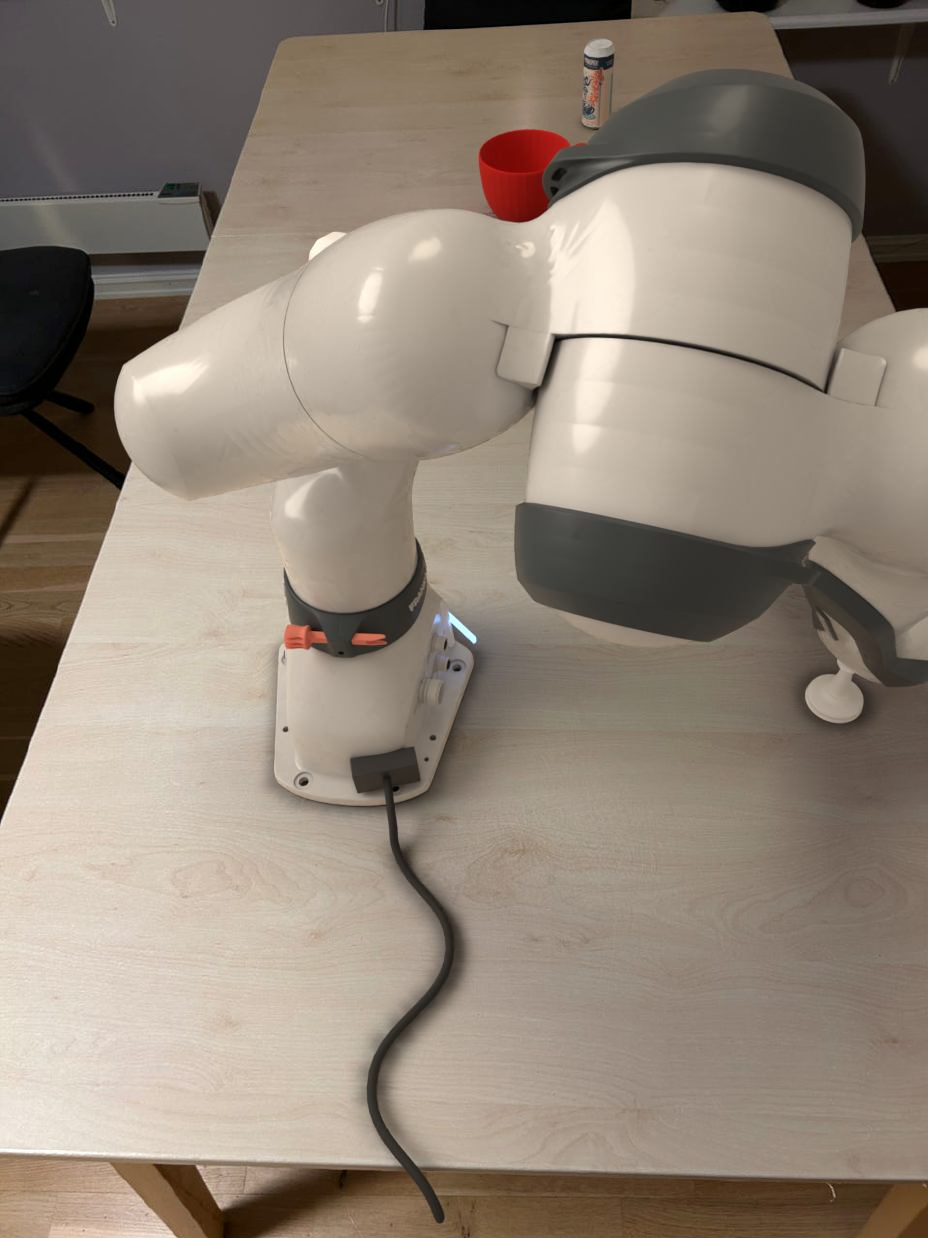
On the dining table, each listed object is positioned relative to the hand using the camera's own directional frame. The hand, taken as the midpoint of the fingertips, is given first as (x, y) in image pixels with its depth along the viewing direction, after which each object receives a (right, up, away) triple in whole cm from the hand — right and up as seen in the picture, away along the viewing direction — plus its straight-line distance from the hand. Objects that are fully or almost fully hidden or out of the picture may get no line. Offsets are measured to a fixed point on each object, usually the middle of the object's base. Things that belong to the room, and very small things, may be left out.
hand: (884, 481), depth 88 cm
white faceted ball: (-56, +32, +41) cm, 76 cm away
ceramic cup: (-29, +46, +49) cm, 73 cm away
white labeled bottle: (-18, +69, +66) cm, 97 cm away
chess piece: (-7, -20, -5) cm, 22 cm away
